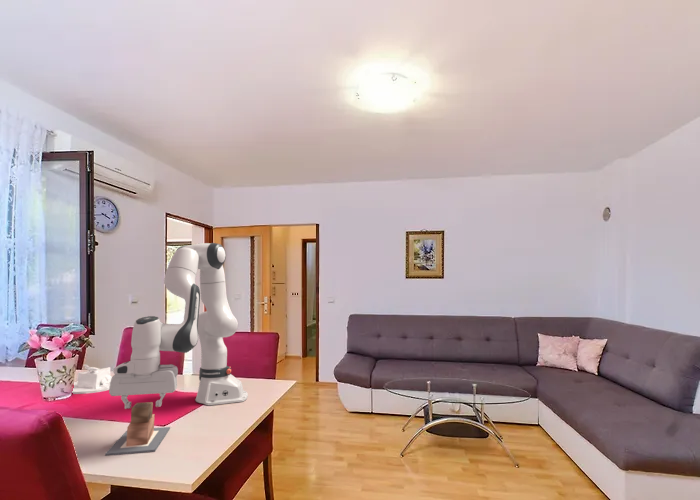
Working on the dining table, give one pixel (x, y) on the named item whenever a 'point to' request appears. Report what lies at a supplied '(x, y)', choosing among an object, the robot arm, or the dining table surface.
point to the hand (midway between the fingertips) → (143, 407)
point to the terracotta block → (140, 432)
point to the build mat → (150, 447)
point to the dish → (92, 380)
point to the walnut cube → (141, 412)
